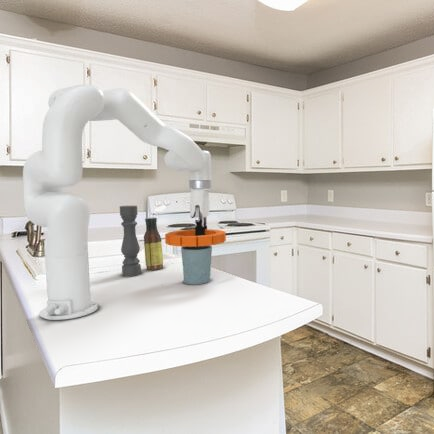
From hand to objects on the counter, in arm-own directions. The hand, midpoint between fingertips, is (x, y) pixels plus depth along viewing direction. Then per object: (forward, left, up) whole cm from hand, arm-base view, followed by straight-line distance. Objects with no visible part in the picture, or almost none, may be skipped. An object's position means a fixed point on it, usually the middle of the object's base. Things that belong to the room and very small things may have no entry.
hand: (201, 236), depth 146 cm
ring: (-8, 0, 0) cm, 8 cm away
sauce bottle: (+12, +21, -14) cm, 28 cm away
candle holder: (+3, +26, -14) cm, 30 cm away
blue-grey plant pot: (-8, 0, -14) cm, 17 cm away
